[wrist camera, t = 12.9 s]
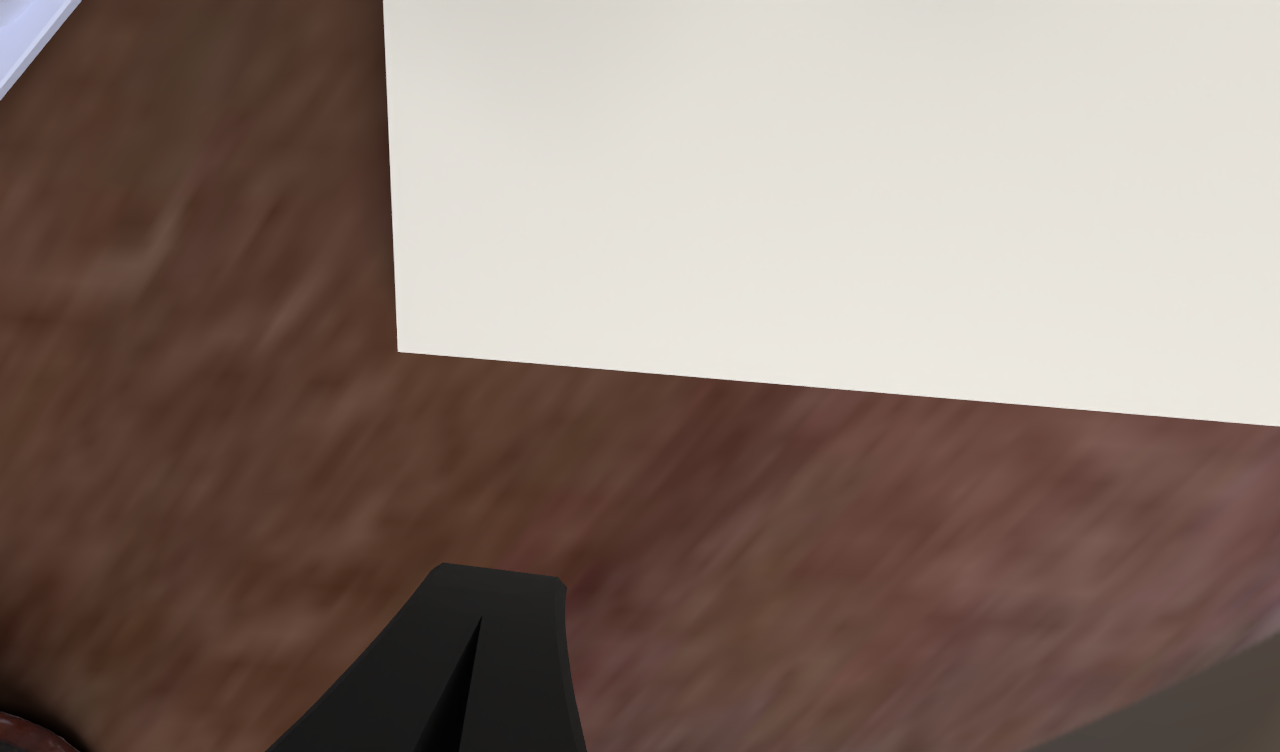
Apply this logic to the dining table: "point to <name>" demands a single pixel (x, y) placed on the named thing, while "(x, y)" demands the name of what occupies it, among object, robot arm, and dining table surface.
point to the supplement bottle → (29, 737)
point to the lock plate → (849, 194)
